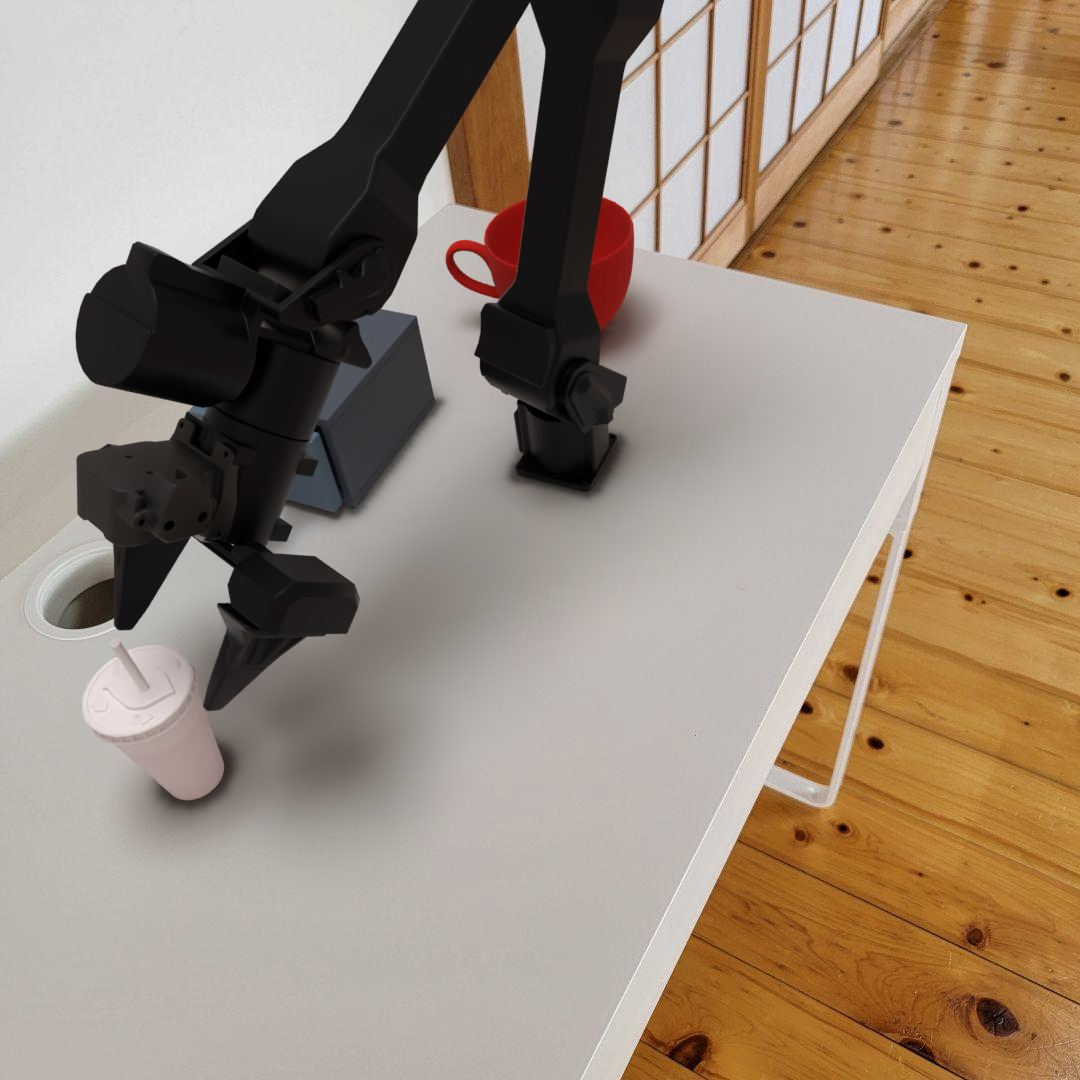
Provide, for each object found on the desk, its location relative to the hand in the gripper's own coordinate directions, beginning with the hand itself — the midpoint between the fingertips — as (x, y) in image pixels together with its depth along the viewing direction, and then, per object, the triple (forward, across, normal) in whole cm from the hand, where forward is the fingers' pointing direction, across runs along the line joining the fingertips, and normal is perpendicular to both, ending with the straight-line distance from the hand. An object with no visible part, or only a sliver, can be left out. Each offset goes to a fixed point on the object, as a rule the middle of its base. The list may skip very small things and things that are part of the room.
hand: (165, 667), depth 58 cm
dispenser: (-11, -18, +24) cm, 32 cm away
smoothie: (+8, 0, +6) cm, 10 cm away
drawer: (-9, -17, +21) cm, 28 cm away
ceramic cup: (-27, -13, +40) cm, 50 cm away
